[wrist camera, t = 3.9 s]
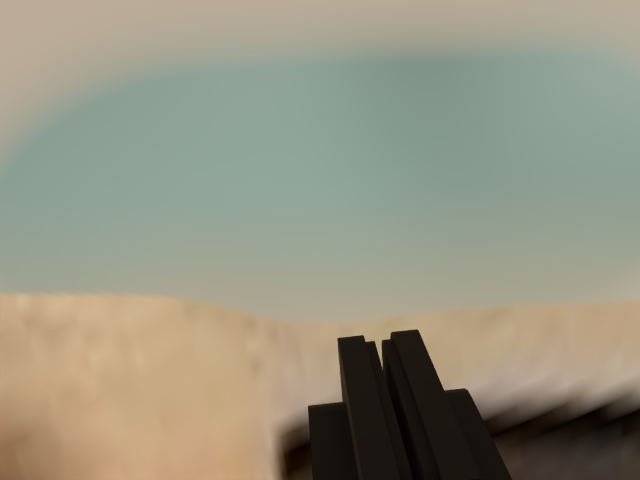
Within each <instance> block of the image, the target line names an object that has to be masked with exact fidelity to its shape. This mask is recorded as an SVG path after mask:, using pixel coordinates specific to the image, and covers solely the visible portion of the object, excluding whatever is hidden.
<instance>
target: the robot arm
mask: <svg viewBox="0 0 640 480" xmlns="http://www.w3.org/2000/svg"><path fill="white" fill-rule="evenodd" d="M338 352H339V363H340V375H341V386H342V398H343V402H339V403H330V404H321V405H312V406H308V413H309V428H310V443H311V458H312V472H313V480H512V478H511V476H510V474H509V472H508V470H507V468H506V466H505V464H504V462H503V460H502V458H501V456H500V454H499V452H498V450H497V448H496V446H495V444H494V442H493V440H492V438H491V436H490V434H489V432H488V430H487V428H486V426H485V423H484V421H483V419H482V417H481V415H480V413H479V411H478V409H477V407H476V405H475V403H474V401H473V399H472V397H471V395H470V393H469V392H468V390H466V389H465V388H464V389H455V390H446V391H444V389H443V387H442V384H441V382H440V380H439V377H438V375H437V373H436V370H435V368H434V366H433V363H432V361H431V359H430V356H429V354H428V352H427V349H426V347H425V345H424V342H423V340H422V338H421V335H420V333H419V331H418V330H417V329H416V330H407V331H398V332H391V339H389V340H382V361H383V369H382V366H381V362H380V358H379V355H378V351H377V348H376V344H375V342H374V341H370V342H365V339H364V336H363V335H361V336H352V337H343V338H338Z"/></svg>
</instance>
